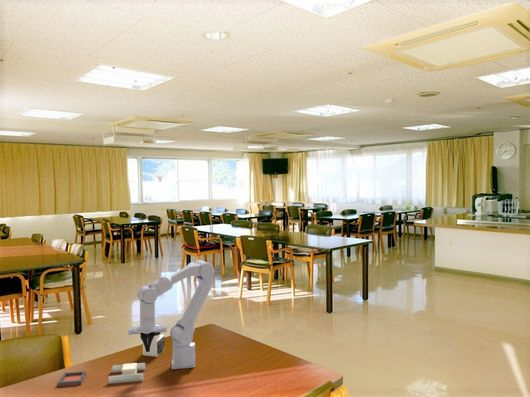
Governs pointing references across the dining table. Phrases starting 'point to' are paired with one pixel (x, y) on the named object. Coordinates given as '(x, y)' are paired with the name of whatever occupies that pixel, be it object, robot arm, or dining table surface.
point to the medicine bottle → (156, 345)
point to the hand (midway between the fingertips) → (147, 350)
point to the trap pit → (72, 378)
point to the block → (129, 369)
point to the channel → (126, 377)
